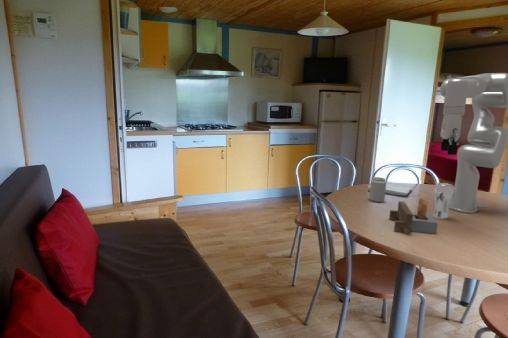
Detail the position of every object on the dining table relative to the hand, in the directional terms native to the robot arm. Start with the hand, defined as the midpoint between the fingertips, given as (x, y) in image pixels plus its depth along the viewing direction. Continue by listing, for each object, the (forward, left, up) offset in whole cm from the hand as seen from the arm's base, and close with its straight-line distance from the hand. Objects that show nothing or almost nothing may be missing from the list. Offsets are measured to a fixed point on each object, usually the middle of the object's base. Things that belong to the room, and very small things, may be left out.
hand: (448, 152), depth 143 cm
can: (+23, -25, -31) cm, 46 cm away
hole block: (+10, +11, -30) cm, 34 cm away
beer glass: (-3, -8, -31) cm, 32 cm away
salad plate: (+13, -50, -31) cm, 60 cm away
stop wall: (+17, +11, -30) cm, 36 cm away
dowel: (+9, +11, -30) cm, 33 cm away
